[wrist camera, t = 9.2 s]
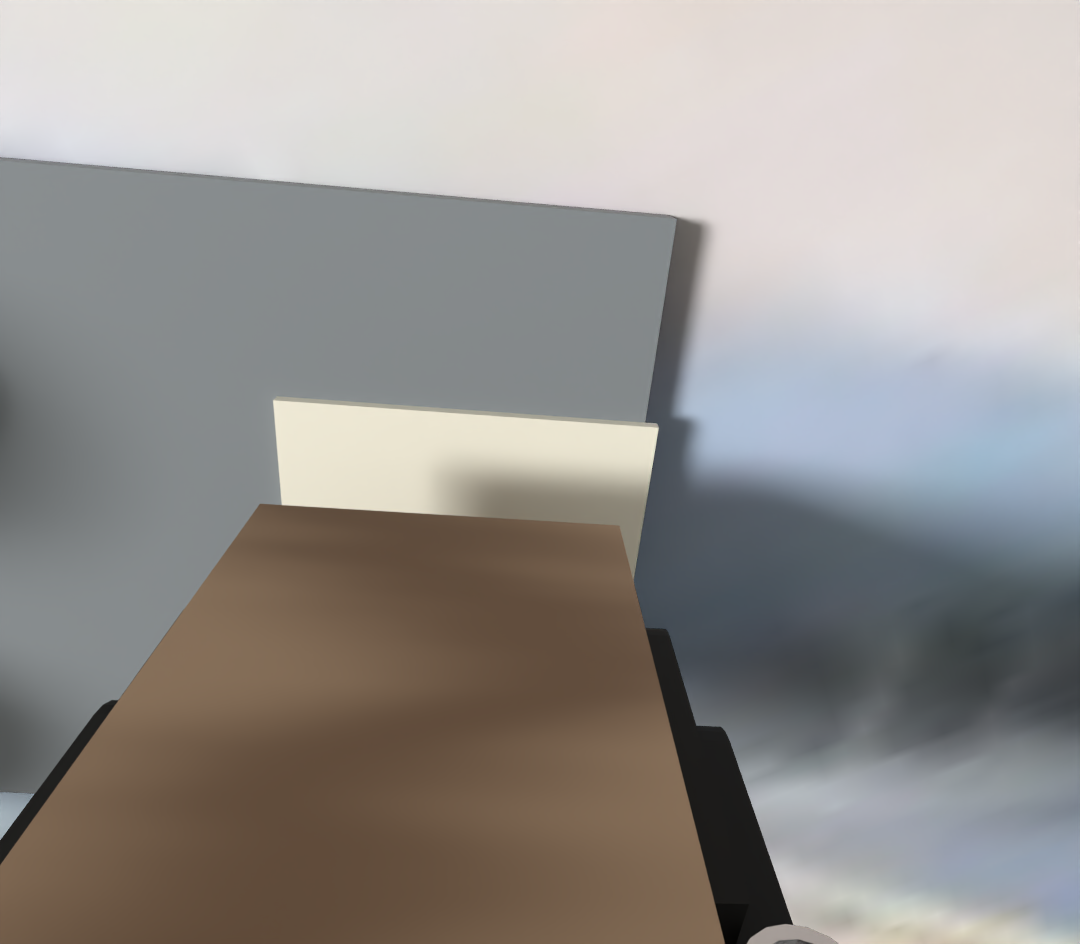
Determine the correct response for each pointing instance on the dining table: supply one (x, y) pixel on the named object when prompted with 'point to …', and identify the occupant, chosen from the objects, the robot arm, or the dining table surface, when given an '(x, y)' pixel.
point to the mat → (284, 392)
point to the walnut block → (380, 753)
